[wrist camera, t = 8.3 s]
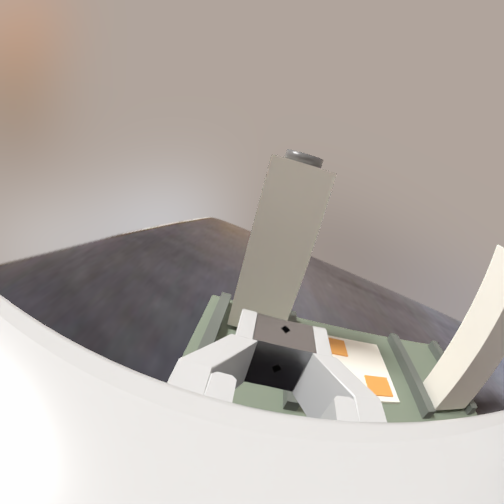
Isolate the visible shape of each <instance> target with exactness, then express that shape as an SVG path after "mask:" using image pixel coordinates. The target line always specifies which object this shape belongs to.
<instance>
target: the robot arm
mask: <svg viewBox="0 0 504 504" xmlns="http://www.w3.org/2000/svg"><path fill="white" fill-rule="evenodd" d="M243 382H249V383H254V384H259V385H264V386H269V387H273V388H278V389H282V390H287V391H291V392H292V393H293V395H294V396H295V398H296V400H297V401H298V403H299V404H300V406H301V408H302V409H303V411H304V412H305V414H306V416H307V417H304V416H297V415H291V414H284V413H278V412H273V411H268V410H262V409H258V408H253V407H248V406H244V405H240V404H235V403H232V401H233V396H234V391H235V389H236V388H238V387H239V386H240V385H241V384H242V383H243ZM0 504H504V410H502V411H498V412H493V413H488V414H483V415H477V416H471V417H464V418H456V419H447V420H437V421H424V422H393V423H388V422H387V420H386V416H385V413H384V410H383V406H382V403H381V400H380V398H379V397H378V396H377V395H375V394H374V393H373V392H372V391H371V390H370V389H369V388H368V387H367V386H366V385H365V384H364V383H363V382H362V381H361V380H360V379H358V378H357V377H356V376H355V375H354V374H353V373H352V372H351V371H350V370H349V369H348V368H347V367H346V366H345V365H344V364H343V363H342V362H341V361H340V360H339V359H337V358H336V357H333V356H332V352H331V347H330V343H329V339H328V334H327V330H326V329H325V328H321V327H316V326H310V325H305V324H301V323H296V322H291V321H286V320H284V319H280V318H276V317H273V316H269V315H265V314H262V313H258V312H255V311H251V310H247V309H242V312H241V316H240V319H239V323H238V327H237V330H236V334H235V335H234V334H230V335H228V336H226V337H224V338H222V339H220V340H218V341H216V342H213V343H211V344H209V345H207V346H205V347H203V348H201V349H199V350H197V351H194V352H192V353H190V354H188V355H186V356H184V357H181V358H179V360H178V362H177V364H176V366H175V368H174V370H173V372H172V374H171V376H170V378H169V380H168V382H167V383H165V382H163V381H160V380H157V379H154V378H152V377H149V376H147V375H144V374H142V373H139V372H137V371H134V370H132V369H129V368H127V367H125V366H122V365H120V364H118V363H116V362H113V361H111V360H109V359H107V358H105V357H103V356H100V355H98V354H96V353H94V352H92V351H90V350H88V349H86V348H84V347H82V346H81V345H79V344H77V343H75V342H73V341H71V340H69V339H68V338H66V337H64V336H62V335H60V334H59V333H57V332H55V331H54V330H52V329H50V328H49V327H47V326H45V325H44V324H42V323H40V322H39V321H37V320H36V319H34V318H33V317H31V316H29V315H28V314H26V313H25V312H23V311H22V310H21V309H19V308H18V307H16V306H15V305H13V304H12V303H11V302H9V301H8V300H6V299H5V298H4V297H2V296H1V295H0Z"/></svg>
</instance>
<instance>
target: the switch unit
mask: <svg viewBox="0 0 504 504" xmlns="http://www.w3.org/2000/svg"><path fill="white" fill-rule="evenodd" d="M230 299H231V294H227V293H224V292H222V294H221V296H220V297H219V296H215V295H212V297H211V299H210V301H209V303H208V305H207V307H206V309H205V311H204V313H203V315H202V317H201V319H200V321H199V323H198V326H197V328H196V330H195V332H194V334H193V336H192V338H191V340H190V342H189V344H188V346H187V348H186V350H185V352H184V354H183V356H182V357H184V356H186V355H188V354H190V353H192V352H194V351H197V350H199V349H201V348H203V347H205V346H207V345H209V344H211V343H213V342H216V341H218V340H220V339H222V338H224V337H226V336H228V335H230V334H234V335H235V334H236V330H237V327H235V326H231V325H228V324H227V323H228V319H229V315H230V311H231V307H232V304H233V300H230ZM287 321H291V322H296V323H301V324H305V325H310V326H316V327H321V328H325V329H326V330H327V334H328V339H329V343H330V347H331V352H332V356H333V357H336V358H337V359H339V360H340V361H341V362H342V363H343V364H344V365H345V366H346V367H347V368H348V369H349V370H350V371H351V372H352V373H353V374H354V375H355V376H356V377H357V378H358V379H360V380H361V381H362V382H363V383H364V384H365V385H366V386H367V387H368V388H369V389H370V390H371V391H372V392H373V393H374V394H375V395H377V396H378V397H379V398H380V400H381V403H382V406H383V410H384V413H385V416H386V420H387V422H388V423H393V422H424V421H437V420H447V419H456V418H464V417H471V416H477V413H476V411H475V410H476V409H477V408H478V407H477V405H476V404H475V402H474V400H473V399H472V400H471V402H470V403H469V404H468V405H467V406H466V407H465V408H463V409H451V410H435V408H434V406H433V403H432V401H431V399H430V397H429V395H428V393H427V391H426V389H425V387H424V384H423V382H424V380H425V379H426V378H427V376H428V375H429V374H430V372H431V371H432V369H433V368H434V367H435V365H436V364H437V362H438V361H439V359H440V358H441V356H442V355H443V353H444V352H443V350H442V349H441V347H440V346H439V344H438V343H437V341H431V342H430V344H423V343H417V342H412V341H406V340H400V338H399V337H398V335H397V334H393V333H390V335H389V337H384V336H379V335H374V334H369V333H364V332H359V331H355V330H350V329H345V328H341V327H336V326H332V325H327V324H323V323H318V322H314V321H310V320H306V319H302V318H298V317H297V316H296V312H295V311H291V312H290V315H289V317H288V320H287ZM232 403H235V404H240V405H244V406H248V407H253V408H258V409H262V410H268V411H273V412H278V413H284V414H291V415H297V416H304V417H307V416H306V414H305V412H304V411H303V409H302V408H301V406H300V404H299V403H298V401H297V400H296V398H295V396H294V395H293V393H292V392H291V391H287V390H282V389H278V388H273V387H269V386H264V385H259V384H254V383H249V382H243V383H242V384H241V385H240V386H239V387H238V388H236V389H235V391H234V396H233V401H232Z"/></svg>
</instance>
